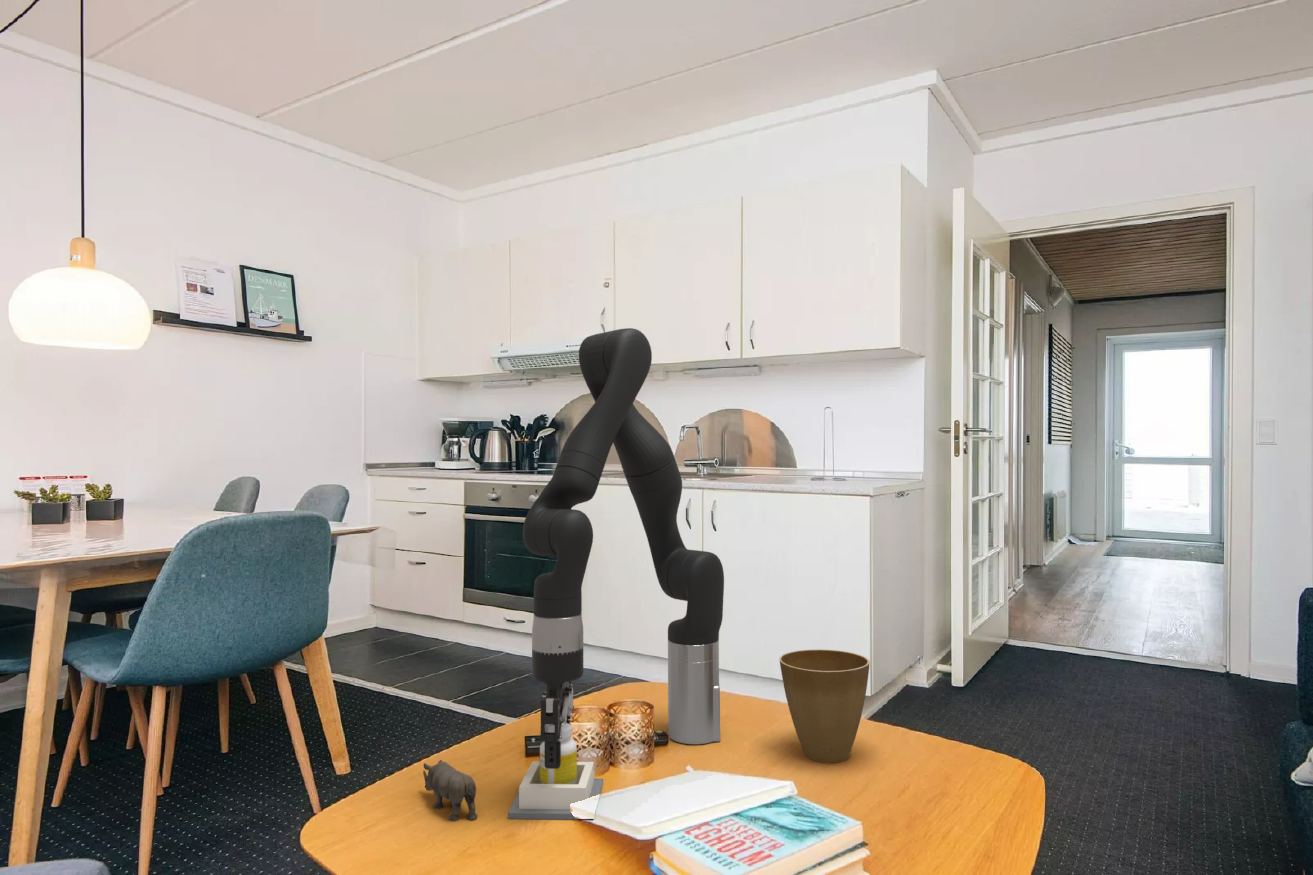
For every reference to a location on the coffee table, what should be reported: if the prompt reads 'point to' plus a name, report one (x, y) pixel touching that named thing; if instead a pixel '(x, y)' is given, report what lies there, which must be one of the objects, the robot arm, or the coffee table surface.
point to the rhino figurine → (451, 788)
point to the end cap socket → (553, 794)
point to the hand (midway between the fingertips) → (557, 756)
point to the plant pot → (825, 699)
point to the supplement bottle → (568, 760)
